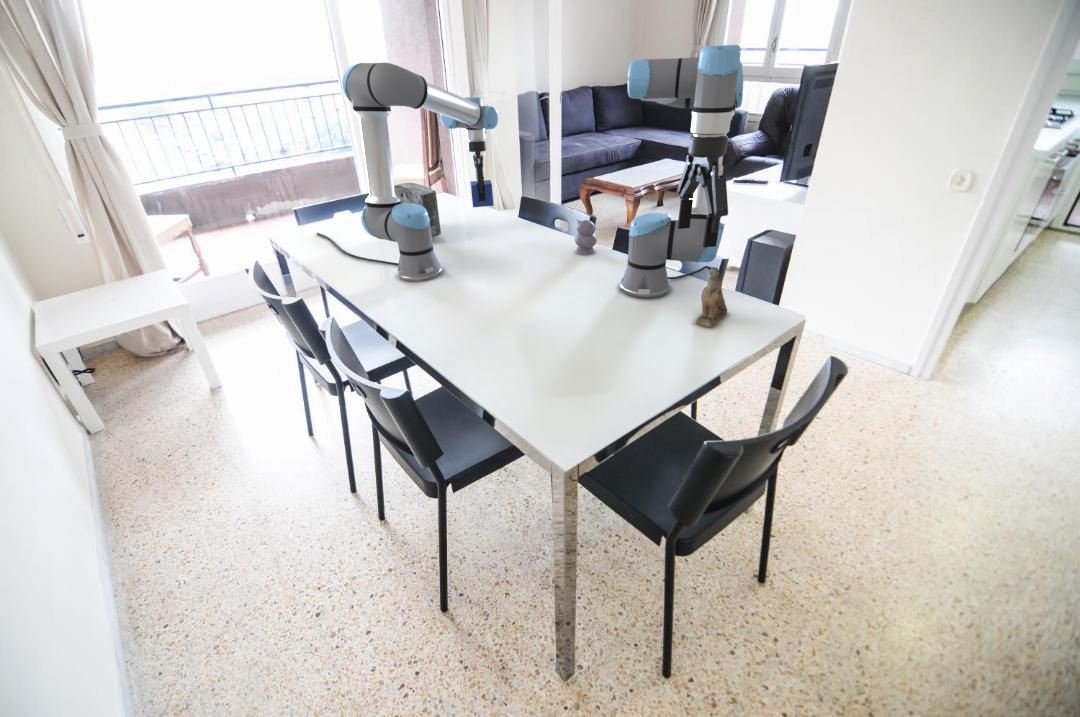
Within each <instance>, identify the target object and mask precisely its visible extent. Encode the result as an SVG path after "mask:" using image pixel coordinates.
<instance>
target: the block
mask: <svg viewBox="0 0 1080 717" xmlns="http://www.w3.org/2000/svg"><path fill="white" fill-rule="evenodd" d="M476 183H478V181H477V180H473V181H471V180H470V181H469V185H470V194H471V203H472V208H481V207H483V208H484V207H494V194H493V193H494V192H493V184H492V180H490V179H484V188H485V199H486V201H479V194H478V185H476Z"/></svg>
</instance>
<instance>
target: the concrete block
mask: <svg viewBox="0 0 1080 717" xmlns="http://www.w3.org/2000/svg"><path fill="white" fill-rule="evenodd" d="M394 188H395V195H396V196H397V197H398V198H399V199H400V202H401V204H406V203H408V204H417V205H420V206H423V207H424V208H425V209H426V210H427V212H428V217H429V219H430V227H431V234H432V239H433V238H435V237H438V236H440V235H441V234H442V228H441V221H440V214H439V206H438V198H437V192H436V190H434V189H432V188H431V187H427V186H426V185H421V184H420V183H415V182H403V183H398V184H394Z"/></svg>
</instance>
